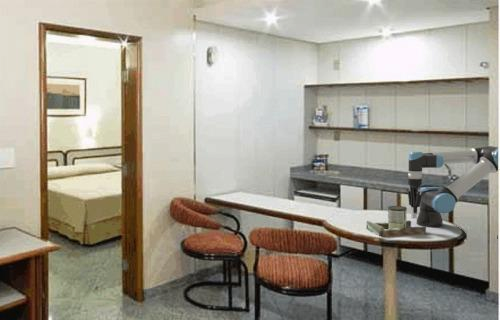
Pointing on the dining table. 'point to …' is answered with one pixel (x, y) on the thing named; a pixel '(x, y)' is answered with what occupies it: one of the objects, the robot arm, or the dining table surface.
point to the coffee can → (396, 217)
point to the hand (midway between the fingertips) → (413, 218)
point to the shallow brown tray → (394, 229)
